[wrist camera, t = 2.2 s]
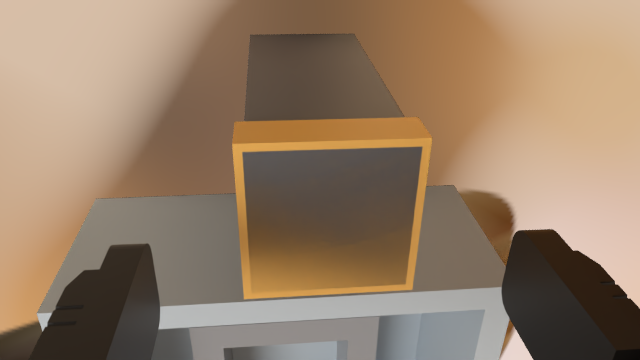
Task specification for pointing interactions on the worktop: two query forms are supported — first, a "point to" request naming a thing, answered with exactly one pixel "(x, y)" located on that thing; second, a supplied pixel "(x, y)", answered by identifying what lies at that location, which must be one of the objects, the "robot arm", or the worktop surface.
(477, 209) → the worktop surface
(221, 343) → the walled box
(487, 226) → the worktop surface
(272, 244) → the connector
